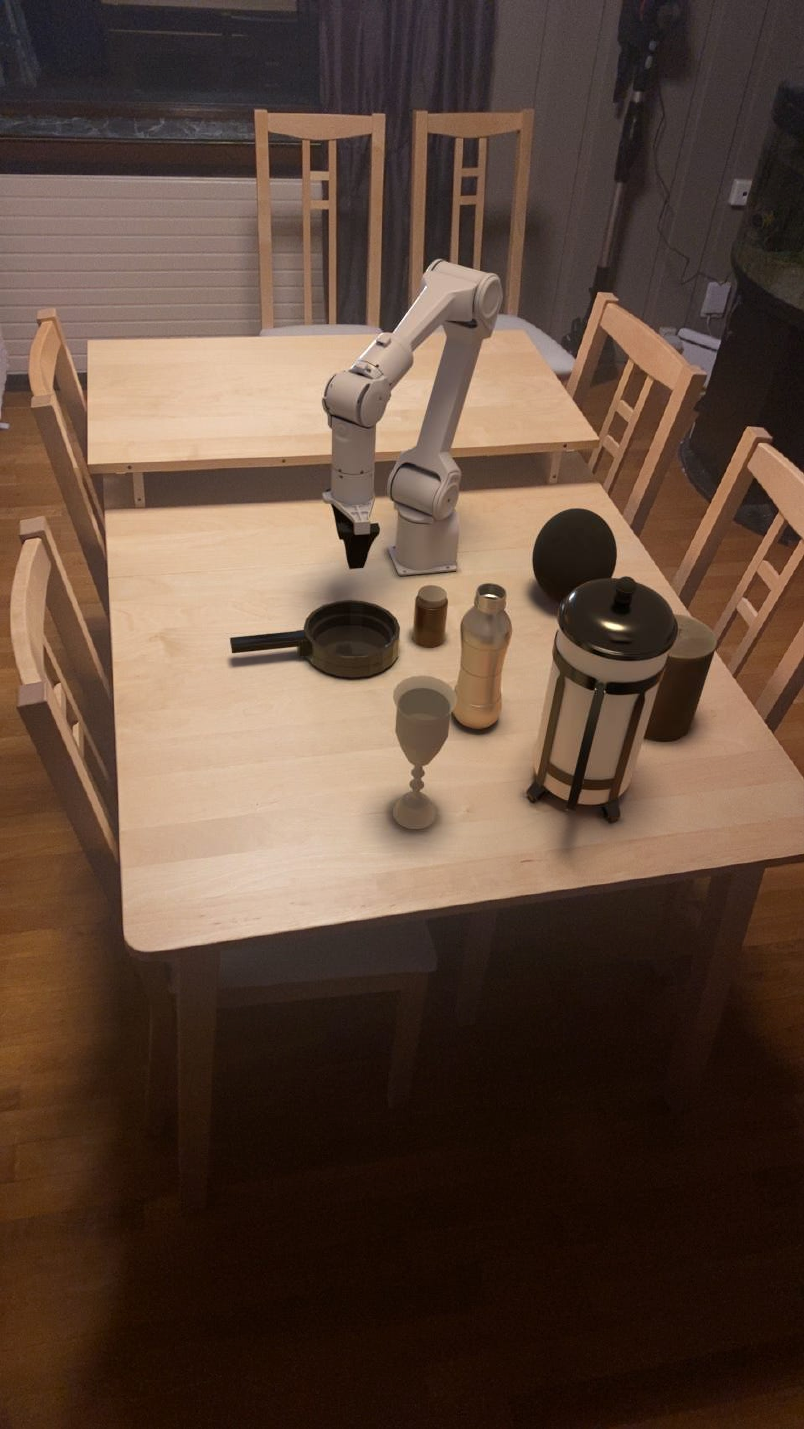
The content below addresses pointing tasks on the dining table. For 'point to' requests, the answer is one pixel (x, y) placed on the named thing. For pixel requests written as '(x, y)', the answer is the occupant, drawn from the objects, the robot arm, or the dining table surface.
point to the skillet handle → (270, 642)
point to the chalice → (420, 740)
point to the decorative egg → (573, 552)
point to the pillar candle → (682, 680)
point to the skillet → (352, 638)
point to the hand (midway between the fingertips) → (351, 552)
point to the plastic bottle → (482, 658)
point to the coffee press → (601, 691)
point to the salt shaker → (430, 616)
